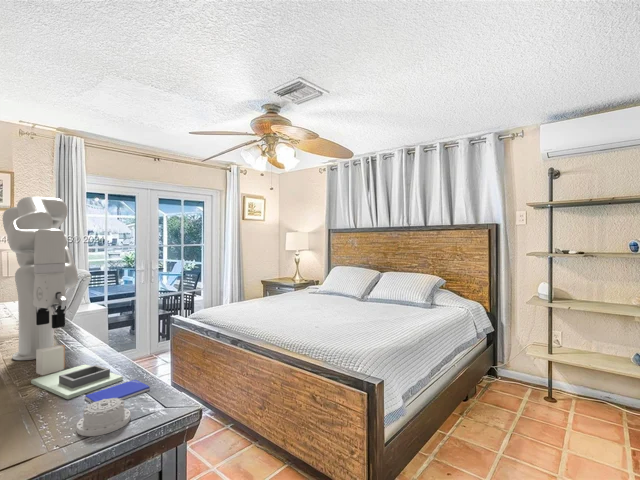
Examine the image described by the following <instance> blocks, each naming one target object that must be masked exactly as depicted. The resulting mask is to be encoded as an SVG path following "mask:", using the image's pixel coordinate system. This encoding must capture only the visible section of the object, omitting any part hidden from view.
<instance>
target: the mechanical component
mask: <svg viewBox="0 0 640 480" xmlns="http://www.w3.org/2000/svg"><path fill="white" fill-rule="evenodd" d="M130 421H131V411H130V410H129V409H128V408H125V400H124V399H123V400H121V398H119V399H118V398H115V399H114V398H111V399H103V400H101V401H97V402H93V403H89V404H88V405H86V406H85V408H84V409H83V417H82V418H80V419H79V421H77V423H76V432H77V434H78V435H80V436H84V437H97V436H98V437H99V436H103V435H106V434H110V433H112V432H116V431H117V430H120V429H121V428H123V427H124V426H127V424H129V422H130Z"/></svg>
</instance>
